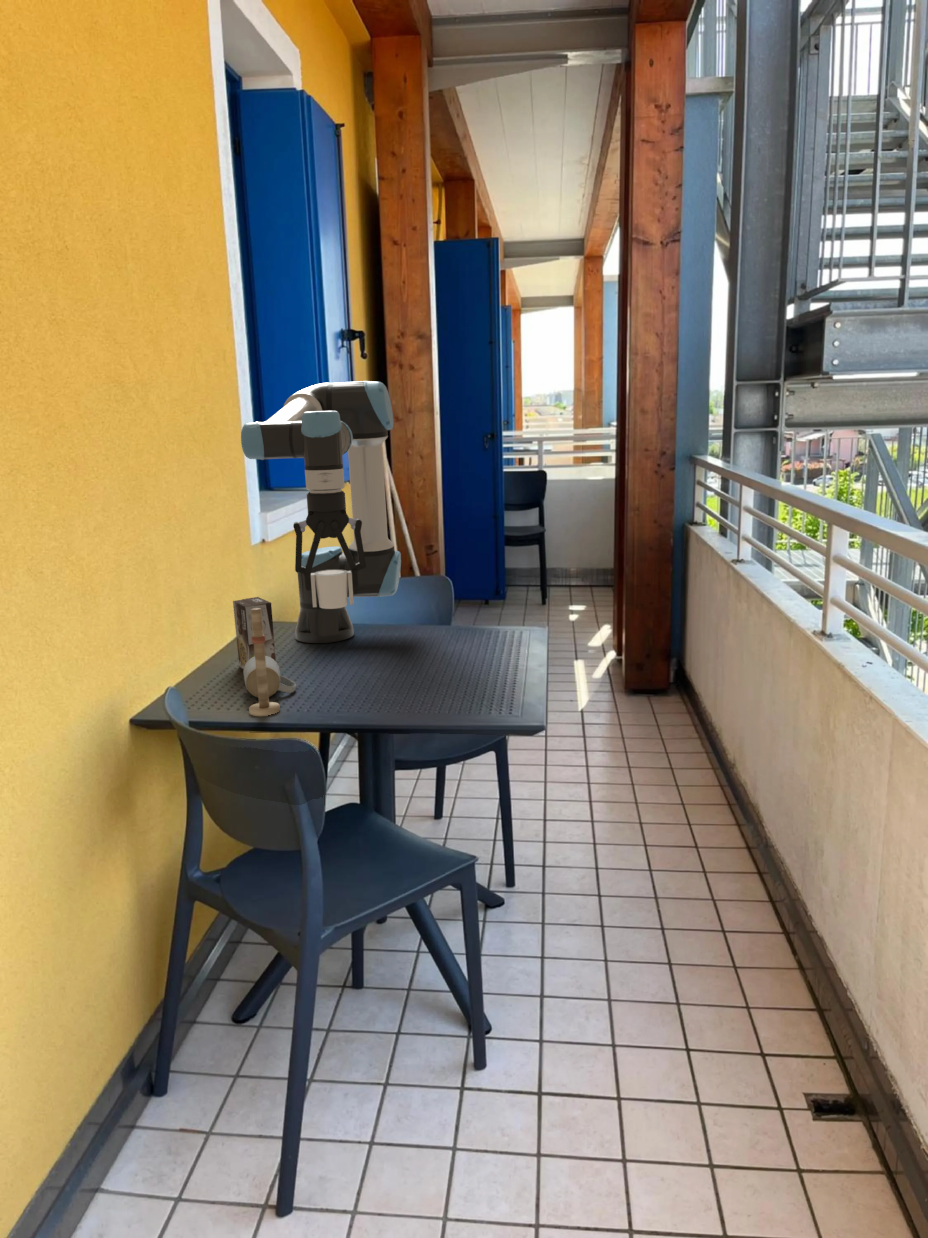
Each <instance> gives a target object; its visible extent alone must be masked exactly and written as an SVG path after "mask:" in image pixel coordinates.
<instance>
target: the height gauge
mask: <svg viewBox="0 0 928 1238" xmlns="http://www.w3.org/2000/svg"><path fill="white" fill-rule="evenodd" d="M251 618H252V630H253V636H252V643H254V653H255V664H256V675H257V687H258V697H257V698H258V702H257V703H254V704H251V705H250V706H249V707H248V710H249V711H248V712H249V715H251V716H253V717H268V715H270V716H272V715H271V714H274V715H276V714H278V713H279V712H280V710H281V708H280V707H281V705H280V704H279V703H278V702H275V701H274V702H273V701H270V699H269V698H270V697H269V695H268V683H267V671H266V660H265V648H264V642H266V641H265V635H263V624H262V612H261V608H254V609H251ZM277 712H278V713H277ZM275 713H276V714H275Z"/></svg>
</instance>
